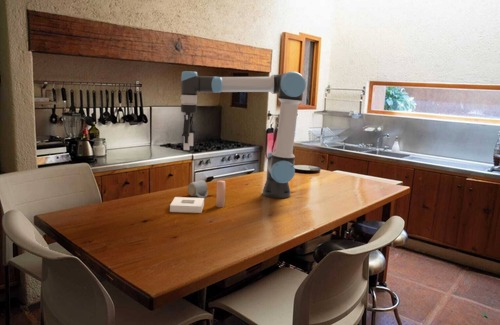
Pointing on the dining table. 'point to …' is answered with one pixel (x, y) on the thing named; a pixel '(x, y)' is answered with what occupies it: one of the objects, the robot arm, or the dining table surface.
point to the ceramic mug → (198, 189)
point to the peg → (220, 194)
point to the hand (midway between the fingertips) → (188, 147)
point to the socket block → (187, 205)
